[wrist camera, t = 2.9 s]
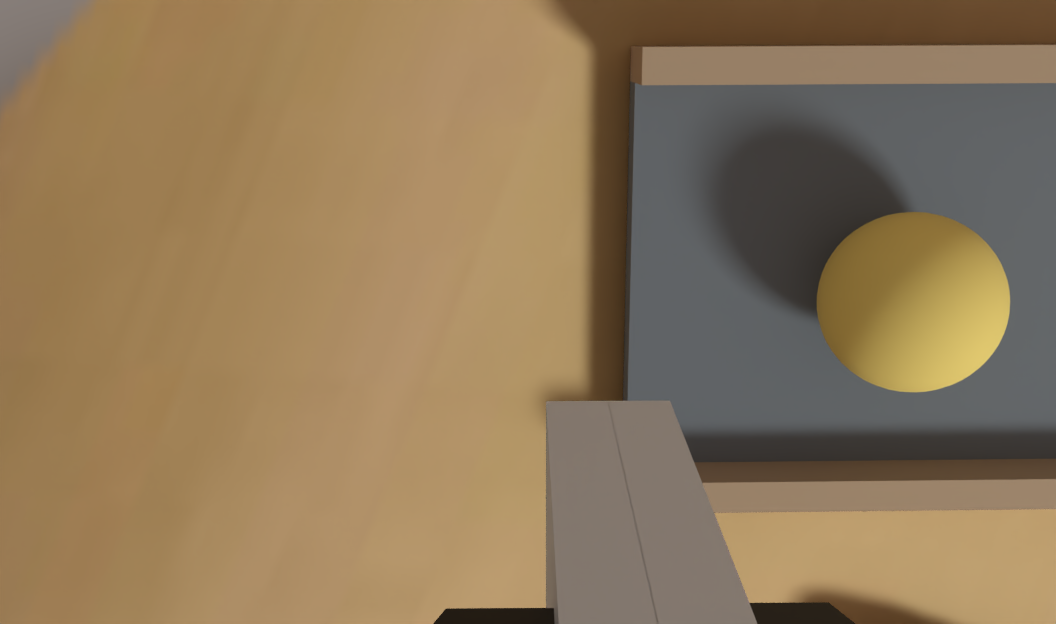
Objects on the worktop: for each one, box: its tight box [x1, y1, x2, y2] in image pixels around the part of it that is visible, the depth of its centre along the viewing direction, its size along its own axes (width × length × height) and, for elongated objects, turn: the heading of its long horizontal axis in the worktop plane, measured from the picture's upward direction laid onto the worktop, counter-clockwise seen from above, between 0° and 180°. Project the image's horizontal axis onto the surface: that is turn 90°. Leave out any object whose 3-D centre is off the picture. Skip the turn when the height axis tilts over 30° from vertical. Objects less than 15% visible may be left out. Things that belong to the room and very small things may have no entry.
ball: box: [817, 212, 1010, 392], centre depth 22 cm, size 4×4×4 cm
